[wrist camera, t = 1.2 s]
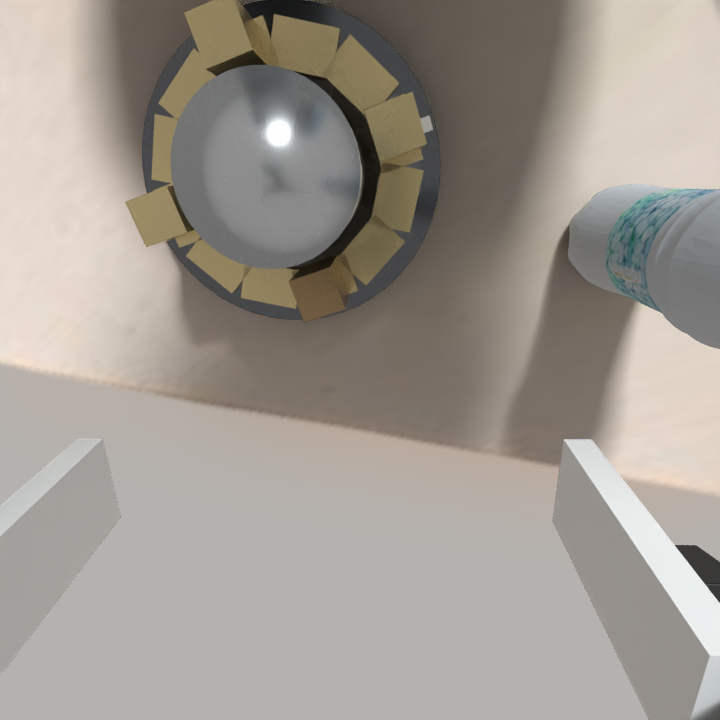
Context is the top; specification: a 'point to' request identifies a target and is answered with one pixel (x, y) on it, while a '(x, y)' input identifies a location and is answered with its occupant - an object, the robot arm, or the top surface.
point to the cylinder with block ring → (357, 85)
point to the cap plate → (363, 133)
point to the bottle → (655, 252)
